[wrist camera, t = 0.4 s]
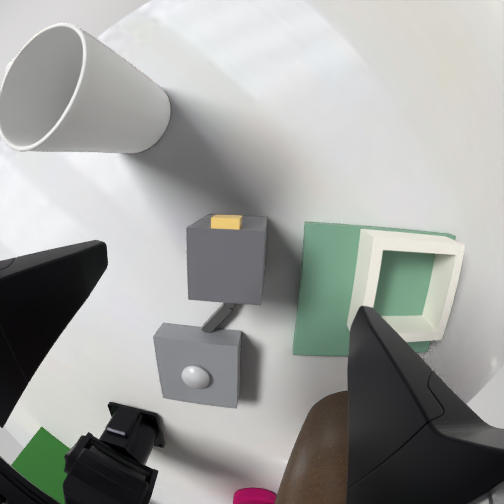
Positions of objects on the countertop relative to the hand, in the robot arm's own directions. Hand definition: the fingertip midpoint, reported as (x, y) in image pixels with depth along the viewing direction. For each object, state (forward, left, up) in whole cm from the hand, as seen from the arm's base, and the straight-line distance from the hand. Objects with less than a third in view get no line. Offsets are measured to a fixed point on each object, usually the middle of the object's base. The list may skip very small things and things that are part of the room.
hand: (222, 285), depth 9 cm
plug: (-2, +1, -13) cm, 13 cm away
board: (-5, -10, -13) cm, 17 cm away
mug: (+9, +11, -13) cm, 20 cm away
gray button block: (-10, +4, -13) cm, 17 cm away
